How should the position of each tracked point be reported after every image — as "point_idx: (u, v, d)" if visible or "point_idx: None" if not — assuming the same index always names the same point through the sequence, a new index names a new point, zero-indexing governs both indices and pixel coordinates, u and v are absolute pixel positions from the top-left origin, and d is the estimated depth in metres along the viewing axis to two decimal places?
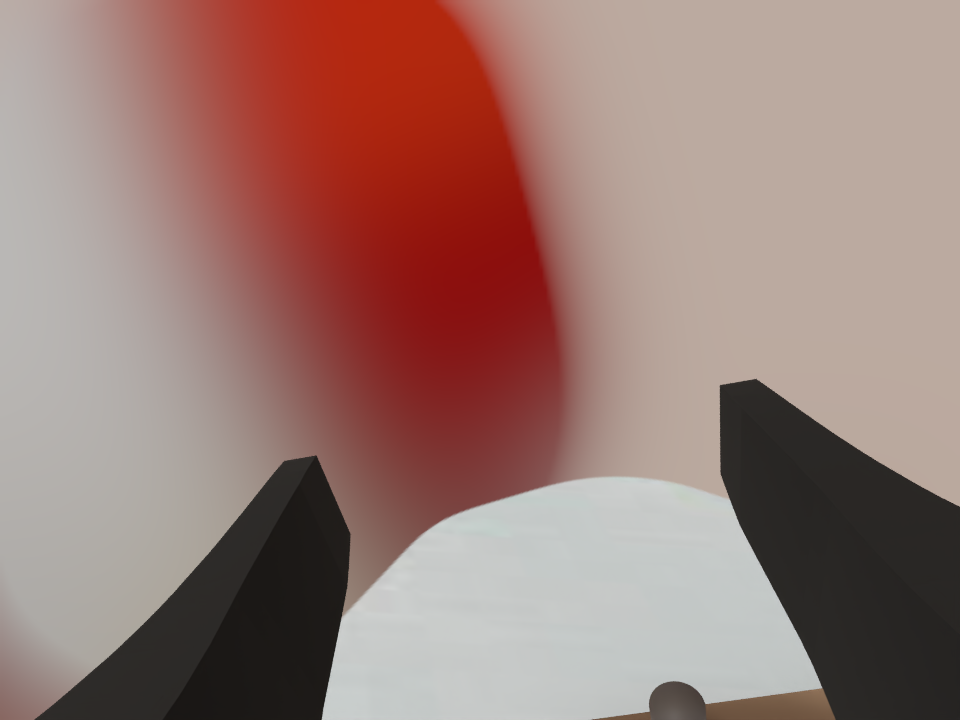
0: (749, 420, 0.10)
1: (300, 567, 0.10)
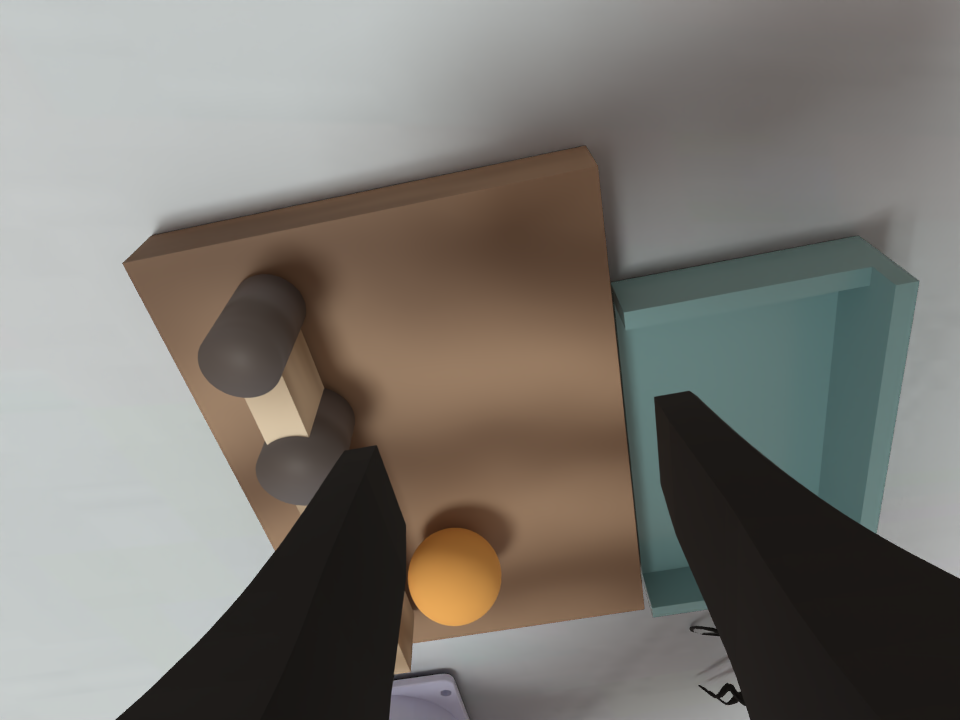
0: (675, 433, 0.10)
1: (368, 556, 0.10)
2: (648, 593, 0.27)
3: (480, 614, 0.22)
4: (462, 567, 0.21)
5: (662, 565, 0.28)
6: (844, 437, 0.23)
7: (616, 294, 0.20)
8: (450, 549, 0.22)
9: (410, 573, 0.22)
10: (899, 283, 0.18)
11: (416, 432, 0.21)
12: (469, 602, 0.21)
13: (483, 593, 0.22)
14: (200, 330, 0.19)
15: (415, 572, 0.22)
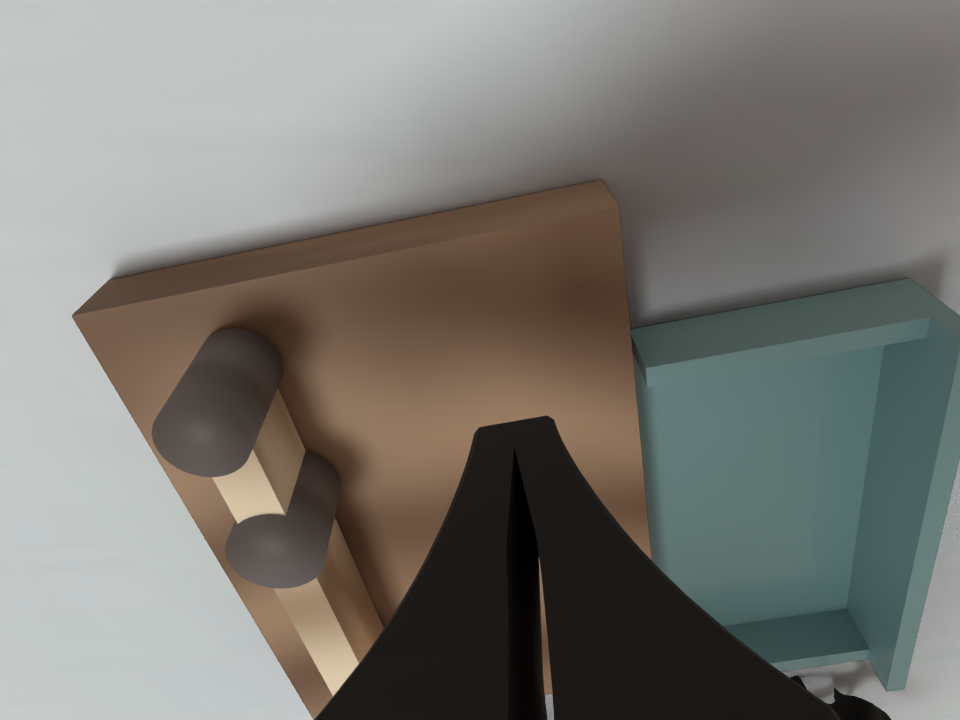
0: (517, 459, 0.10)
1: (522, 533, 0.10)
2: None
3: None
4: None
5: None
6: (888, 499, 0.20)
7: (636, 344, 0.18)
8: None
9: None
10: None
11: (410, 496, 0.19)
12: None
13: None
14: (163, 389, 0.17)
15: None
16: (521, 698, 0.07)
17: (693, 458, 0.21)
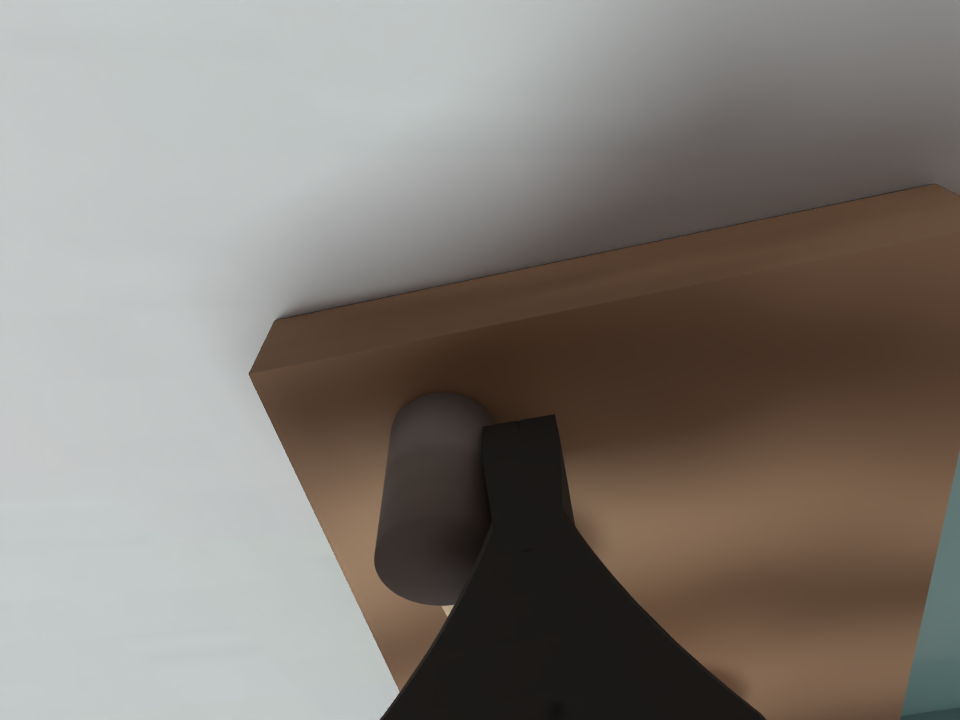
0: (483, 465, 0.10)
1: None
2: None
3: None
4: None
5: None
6: None
7: None
8: None
9: None
10: None
11: (638, 585, 0.15)
12: None
13: None
14: (353, 463, 0.13)
15: None
16: None
17: None
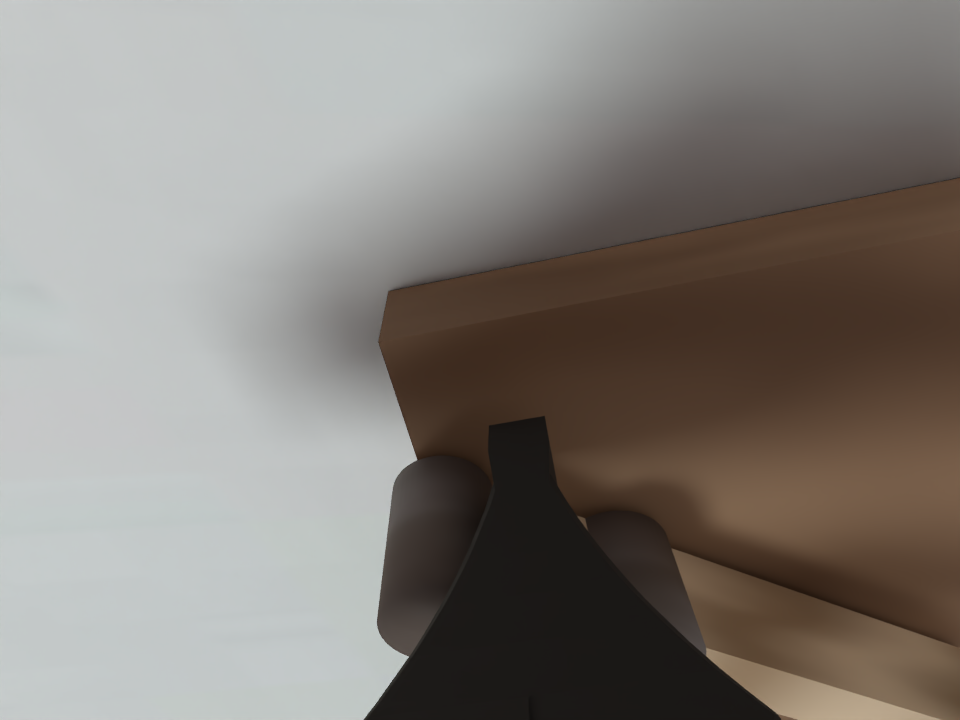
0: (490, 464, 0.10)
1: None
2: None
3: None
4: None
5: None
6: None
7: None
8: None
9: None
10: None
11: (742, 565, 0.15)
12: None
13: None
14: (472, 435, 0.13)
15: None
16: None
17: None
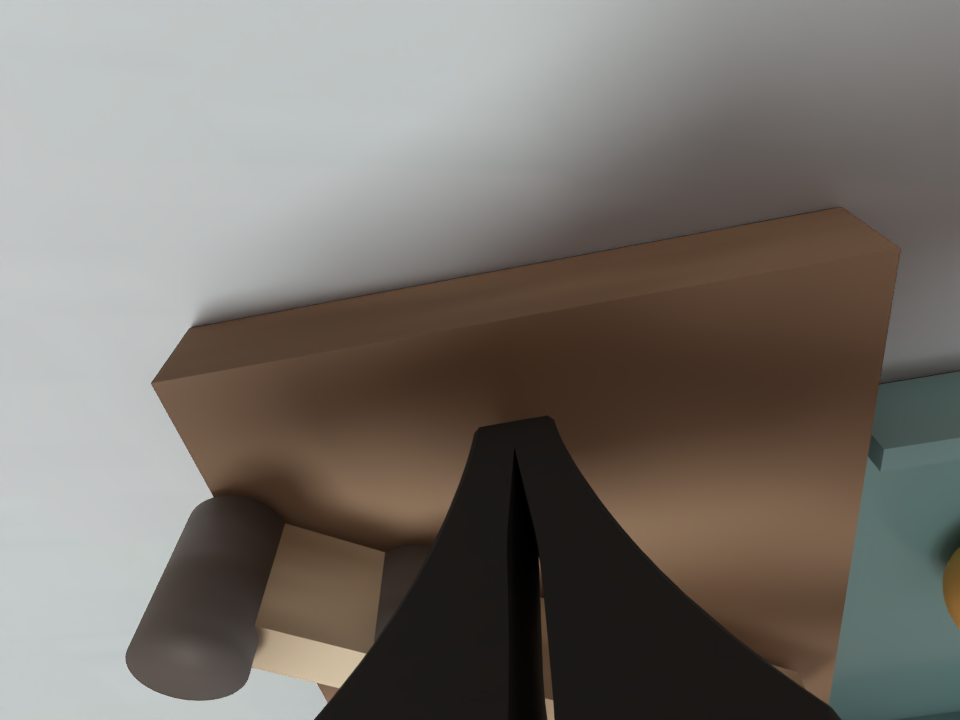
0: (517, 459, 0.10)
1: (522, 532, 0.10)
2: None
3: None
4: None
5: None
6: None
7: None
8: None
9: None
10: None
11: None
12: None
13: None
14: (262, 472, 0.13)
15: None
16: (521, 698, 0.07)
17: (886, 541, 0.17)
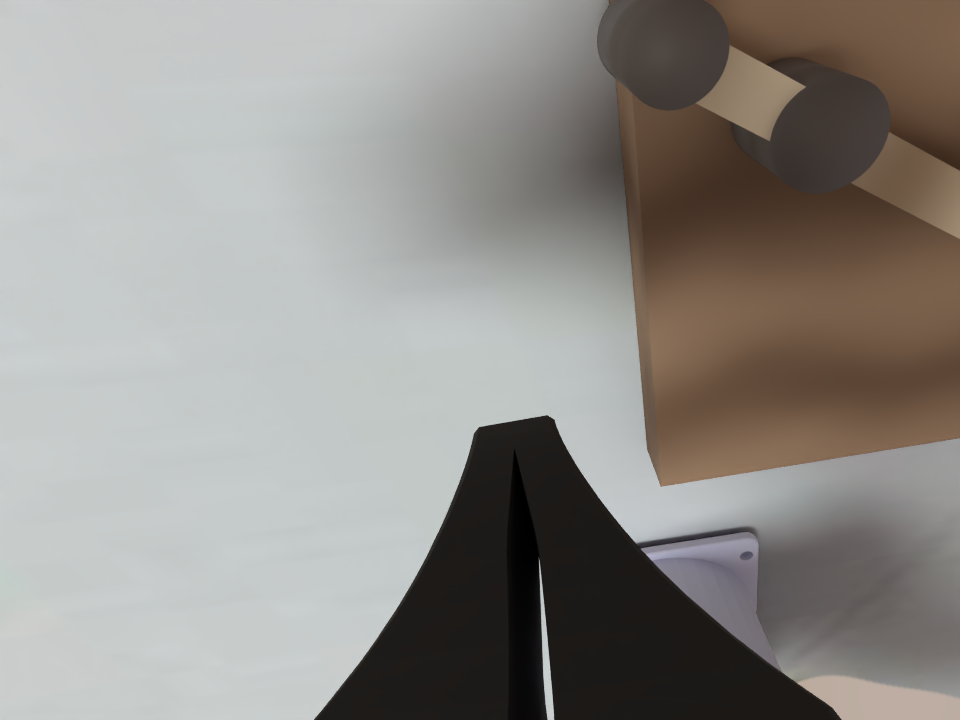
0: (517, 459, 0.10)
1: (522, 532, 0.10)
2: None
3: None
4: None
5: None
6: None
7: None
8: None
9: None
10: None
11: None
12: None
13: None
14: None
15: None
16: (521, 698, 0.07)
17: None
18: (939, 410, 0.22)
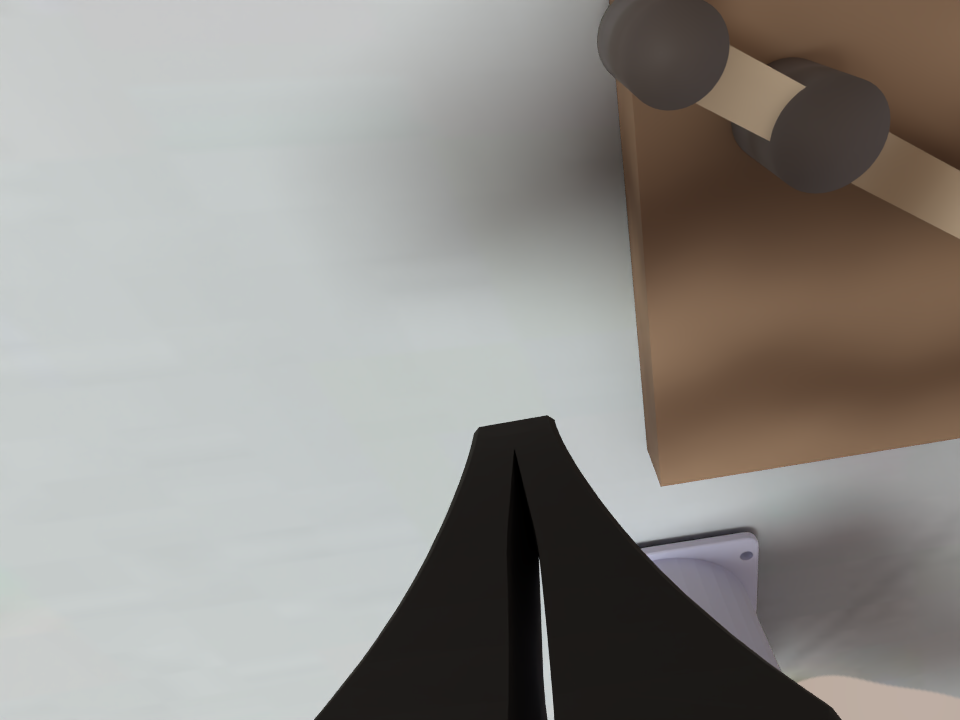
0: (516, 459, 0.10)
1: (522, 532, 0.10)
2: None
3: None
4: None
5: None
6: None
7: None
8: None
9: None
10: None
11: None
12: None
13: None
14: None
15: None
16: (521, 698, 0.07)
17: None
18: (939, 410, 0.22)
